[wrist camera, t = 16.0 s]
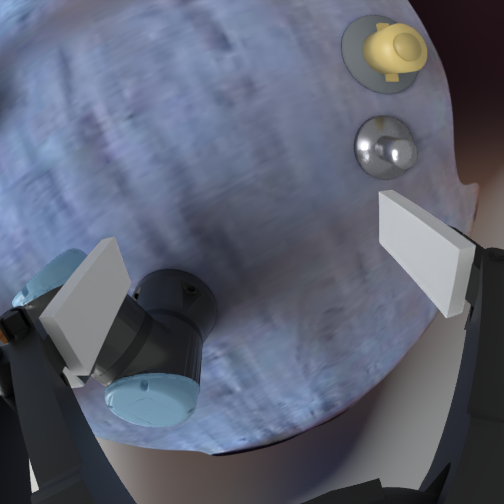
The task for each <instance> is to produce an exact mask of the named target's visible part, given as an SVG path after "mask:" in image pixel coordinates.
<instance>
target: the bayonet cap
mask: <svg viewBox="0 0 504 504" xmlns="http://www.w3.org/2000/svg"><path fill="white" fill-rule="evenodd" d="M376 27H377V32H375V33H373V34H371V35H369V36H368V37H367V38H366V39H365V41H364V43H363V49H362V50H363V56H364V58H365V60H366V62H367V64H368V65H369V66H370V67H371V68H372V69H373V70H374V71H376V72H378V73H380V74H384V75H385V78H386V82H399V78H398V74H399V73H407V72H414V71H418V70H420V69H421V68H422V67H423V66H424V65H425V63H426V60H427V47H426V44H425V42H424V40H423V38H422V37H421V35H420V34H419V33H418V32H417V31H416V30H415V29H413V28H412V27H410V26H408V25H405V24H400V23H398V24H393V25H391V26H389V24H388V23H378V24H376Z"/></svg>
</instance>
